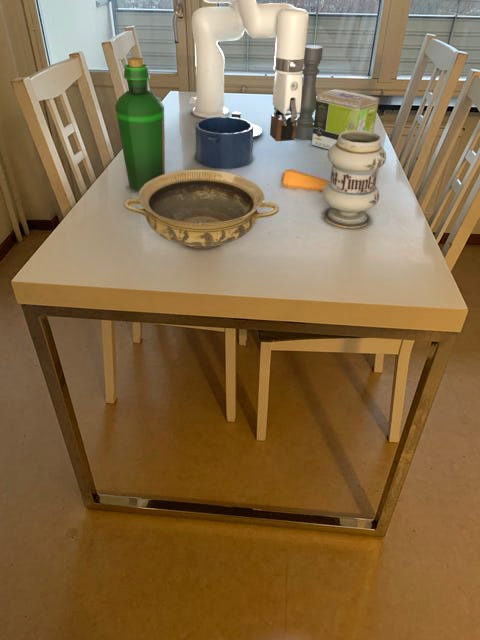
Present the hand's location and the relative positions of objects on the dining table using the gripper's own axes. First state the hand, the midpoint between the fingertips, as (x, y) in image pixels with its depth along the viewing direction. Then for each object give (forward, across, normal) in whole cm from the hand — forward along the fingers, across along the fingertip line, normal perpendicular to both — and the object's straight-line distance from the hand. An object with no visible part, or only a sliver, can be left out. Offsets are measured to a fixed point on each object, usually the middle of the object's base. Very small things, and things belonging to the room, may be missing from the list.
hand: (282, 135), depth 136 cm
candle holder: (+6, +14, -13) cm, 20 cm away
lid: (+5, +21, +8) cm, 23 cm away
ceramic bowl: (+5, -44, +33) cm, 55 cm away
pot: (+5, 0, +17) cm, 18 cm away
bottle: (+5, -15, +40) cm, 43 cm away
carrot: (+5, -26, -1) cm, 27 cm away
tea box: (+5, +2, -20) cm, 20 cm away
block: (0, 0, 0) cm, 0 cm away
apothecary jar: (+5, -42, 0) cm, 42 cm away
